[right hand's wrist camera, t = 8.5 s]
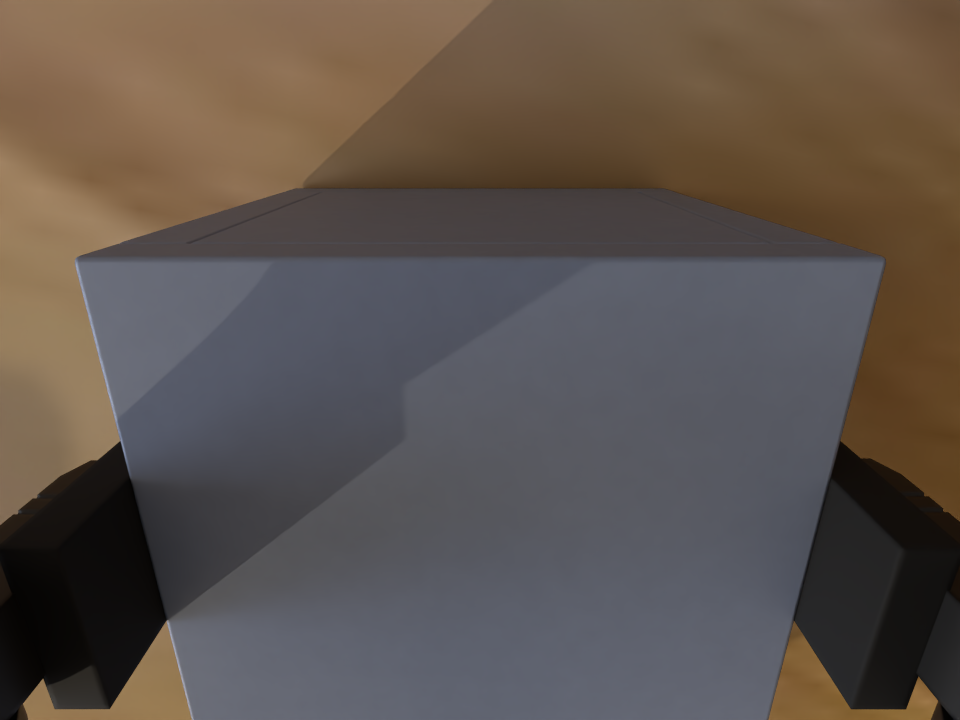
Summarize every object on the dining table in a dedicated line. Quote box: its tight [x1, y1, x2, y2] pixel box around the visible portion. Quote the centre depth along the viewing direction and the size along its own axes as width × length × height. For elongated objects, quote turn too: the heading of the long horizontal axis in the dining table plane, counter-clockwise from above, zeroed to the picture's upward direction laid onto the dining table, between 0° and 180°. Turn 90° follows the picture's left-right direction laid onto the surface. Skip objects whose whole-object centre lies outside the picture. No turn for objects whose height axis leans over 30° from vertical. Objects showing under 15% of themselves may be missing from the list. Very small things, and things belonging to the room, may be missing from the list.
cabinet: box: [75, 188, 886, 720], centre depth 15 cm, size 18×10×9 cm, turn 0°
